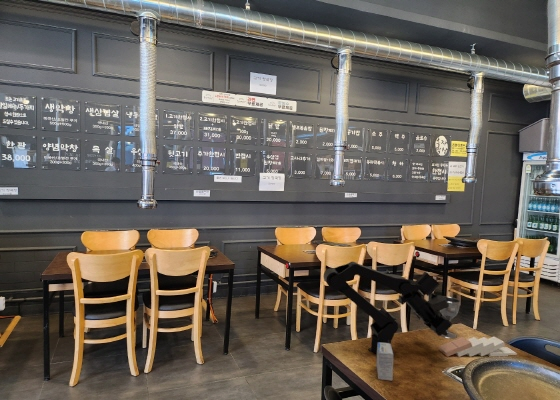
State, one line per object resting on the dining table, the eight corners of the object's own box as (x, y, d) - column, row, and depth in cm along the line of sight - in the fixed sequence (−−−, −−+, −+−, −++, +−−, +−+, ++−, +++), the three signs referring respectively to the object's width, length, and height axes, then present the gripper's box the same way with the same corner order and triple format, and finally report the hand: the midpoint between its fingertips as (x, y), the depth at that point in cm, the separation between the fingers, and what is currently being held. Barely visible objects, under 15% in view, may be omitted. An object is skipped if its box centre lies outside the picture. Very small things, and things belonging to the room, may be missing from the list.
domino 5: (490, 353, 129) (516, 353, 129) (481, 347, 134) (507, 347, 134) (490, 357, 129) (516, 357, 129) (481, 351, 134) (506, 351, 134)
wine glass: (461, 339, 144) (463, 302, 143) (441, 338, 144) (443, 301, 143) (452, 331, 152) (454, 296, 151) (433, 330, 152) (435, 295, 151)
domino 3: (468, 352, 128) (493, 342, 129) (460, 346, 133) (484, 336, 134) (470, 356, 128) (494, 346, 129) (461, 350, 133) (485, 340, 134)
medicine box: (392, 381, 109) (394, 354, 109) (377, 379, 110) (379, 352, 110) (389, 369, 117) (391, 343, 117) (375, 367, 118) (377, 341, 118)
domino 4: (480, 352, 129) (503, 341, 130) (471, 346, 133) (493, 336, 135) (481, 356, 129) (505, 345, 130) (472, 350, 134) (495, 340, 135)
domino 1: (445, 352, 128) (471, 342, 128) (438, 346, 133) (463, 336, 133) (447, 356, 128) (472, 346, 128) (440, 350, 133) (464, 340, 133)
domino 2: (457, 352, 128) (482, 342, 128) (449, 346, 133) (474, 336, 133) (459, 357, 128) (484, 346, 128) (451, 350, 133) (475, 340, 133)
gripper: (447, 296, 120) (477, 329, 121) (422, 282, 139) (448, 310, 139) (423, 319, 120) (453, 352, 121) (402, 301, 138) (428, 330, 139)
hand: (446, 334), depth 130 cm, fingers closed
